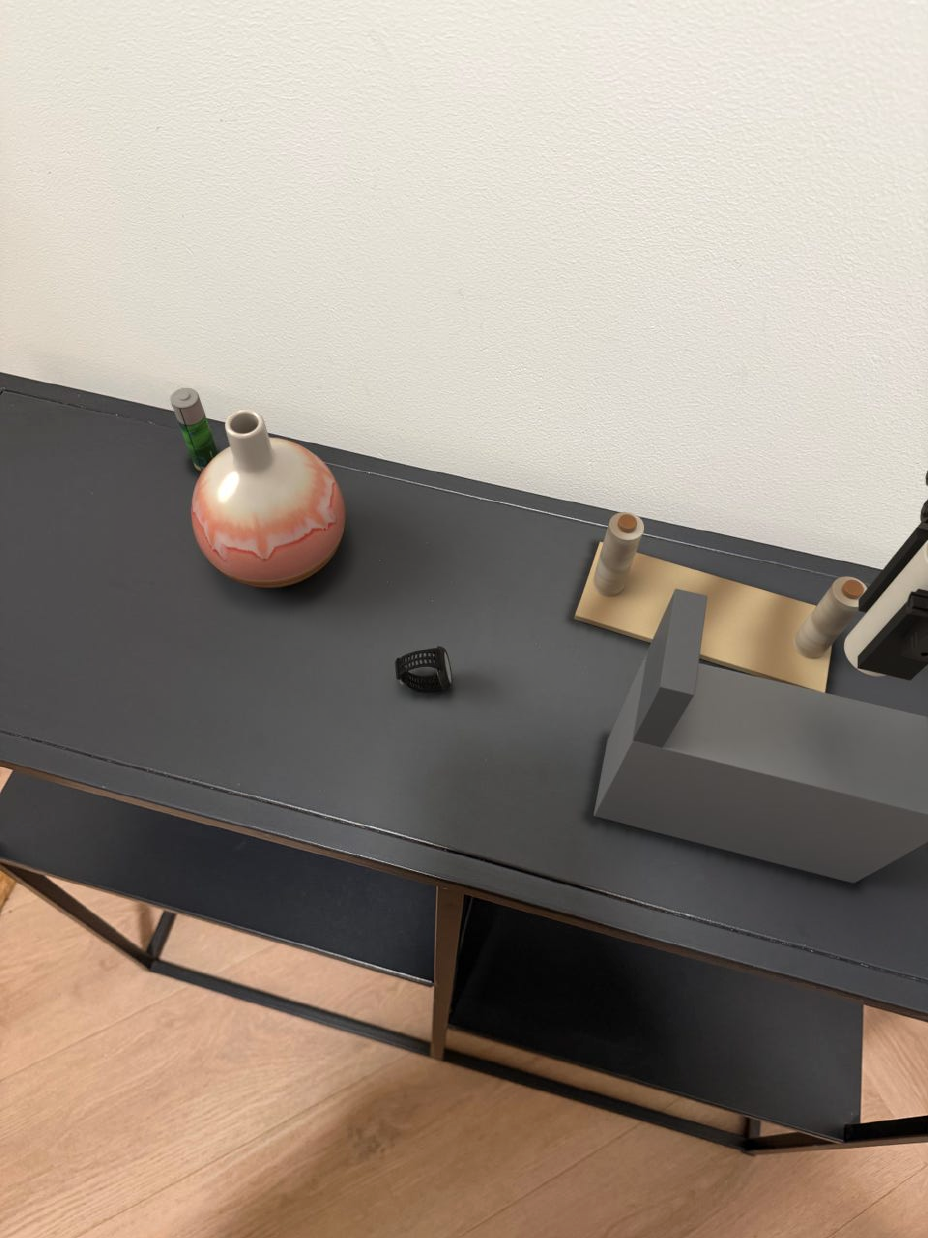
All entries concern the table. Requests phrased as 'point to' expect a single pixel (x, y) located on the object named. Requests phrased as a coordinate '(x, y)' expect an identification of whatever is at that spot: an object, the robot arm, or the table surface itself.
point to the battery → (194, 426)
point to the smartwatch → (440, 665)
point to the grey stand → (762, 762)
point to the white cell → (887, 606)
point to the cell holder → (717, 611)
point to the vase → (266, 507)
